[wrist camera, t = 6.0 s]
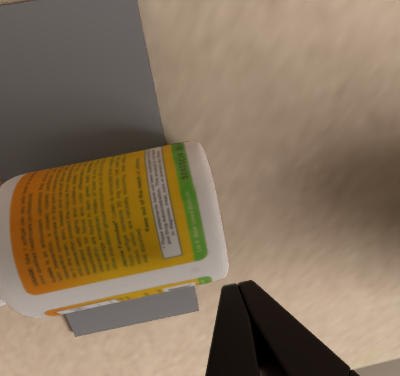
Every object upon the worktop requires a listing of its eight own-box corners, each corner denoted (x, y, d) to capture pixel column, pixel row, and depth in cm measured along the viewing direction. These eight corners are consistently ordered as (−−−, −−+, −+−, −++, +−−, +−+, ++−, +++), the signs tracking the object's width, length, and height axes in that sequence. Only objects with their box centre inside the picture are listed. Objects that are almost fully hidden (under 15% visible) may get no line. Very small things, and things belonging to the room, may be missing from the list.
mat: (133, -15, 12) (133, -15, 12) (198, 306, 19) (198, 310, 19) (-68, 17, 12) (-73, 17, 11) (76, 332, 19) (75, 336, 19)
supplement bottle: (194, 112, 13) (-57, 160, 13) (225, 206, 9) (-140, 282, 9) (208, 207, 17) (12, 247, 16) (234, 305, 13) (-23, 362, 12)
